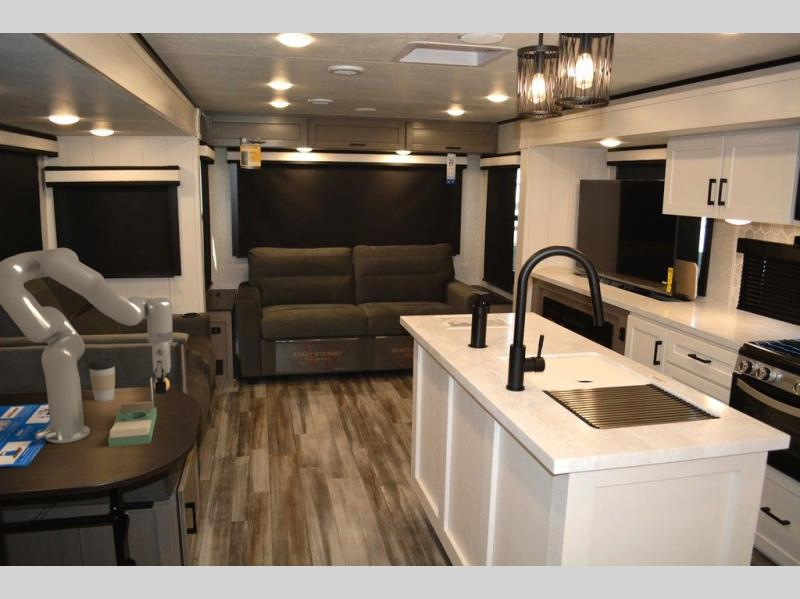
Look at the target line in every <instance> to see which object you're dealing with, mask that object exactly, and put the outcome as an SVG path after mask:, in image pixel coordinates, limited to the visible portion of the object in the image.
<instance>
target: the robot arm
mask: <svg viewBox="0 0 800 599" xmlns="http://www.w3.org/2000/svg"><path fill="white" fill-rule="evenodd" d="M47 277H49V278H51V279H52V280H55V281H56V282H58V283H60V284H61V285H63V286H65V287H66V288H68V289H70V290H72V291H73V292H75V293H76V294H78V295H80V296H82V297H84V299H86V300H87V301H88V302H89V303H90V305H91V304H92V306H93V307H95V308H96V309H97V310H98V311H99V312H101V313H102V314H103V315H105V316H107V317H108V318H110V319H111V320H114V321H115V322H118V323H119V324H120V325H121V324H122V325H123V326H128V327H131V326H137V325H138V324H140V323H141V322H142V320H144V319H147V320H146V321H147V342H148V343H149V344H151V357H152V358H151V360H152V372H153V374H155V380H156V382H155V389H154V391H155V395H158V394H159V395H160V394H161V395H162V394H163V395H164V394H167V390H166V381H165V378H167V379H168V375H167V374H169V373H170V371H171V366H172V362H171V361H172V360H171V342H173V337H174V336H173V304H172V300H171V299H169V298H167V297H154V298H153V297H145V296H137V295H136V296H130V297H128V298H125V297H124V296H122V295H120V294H119V293H117V292H115V291H114V290H113V289H112V288H111V287H110V286H109V285H108V283H107V281H106V279H105V278H104V276H103V275H102V274H101V273H100V272H98V271H96V270H94V269H93V268H91V267H89V266H87V265H86V264H84V263H82V262H81V261H80V260H79V257H78V255H77V253H76V252H75V251H73V250H72V249H71V248H67V247H58V248H57V247H56V248H51V249H50V248H49V249H44V250H35V251H29V252H22V253H17V254H15V255H13V256H10V257H7V258H5V259H3V260H1V261H0V305H1V307H2V308H3V310H5V312H6V313H7V314H8V316H9V317H10V319H12V321H13V322H14V323H15V324H16V326H17V327H18V328H19V329H20V332H22V333H23V335H24V336H25V337H26V339H28V340H29V341H30V342H32V343H47V346H46V347H45V349H44V350H43V352H42V355H41V364H42V370H43V374H44V378H45V385H46V394H47V403H48V404H47V405H48V413H49V414H48V416H49V424H47V425H46V428H45V429H44V430H43V431H40V432H36V433H35V434H34V435H35V437H34V438H35V439H36V440H40V439H45V440H46V439H47V440H46V441H47V442H48V443H51V442H52V443H51V444H68V443H69V444H70V443H73V442H77V441H80V440H82V439H84V438H86V437H87V436H89V435H90V433H91V431H90V430H91V429H90V427H89V426H86V425H85V421H84V412H83V409H84V408H83V398H82V397H83V396H82V386H81V380H80V378H81V377H80V373H79V369H78V361H79V360H80V359H81V358H82V356H83V355H84V353H85V351H86V350H85V348H86V345H85V342H84V340H83V338H82V337H81V336H80V333H78V331H77V330H76V329H75V328H74V327H73V325H72V323H71V322H70V321H69V320H68V319H67V317H66V316H65V315H64V314H63V313H62V312H61V311H60V309H57V308H56V307H53V306H42V305H41V304H40V303H39V302H38V301H37V299H36V298H35V297H34V296H33V294H32V293H31V292H29V291H28V290H27V289H26V288H25V286H24V284H25V283H27V282H29V281H31V280H34V279H39V278H47Z"/></svg>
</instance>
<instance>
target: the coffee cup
mask: <svg viewBox="0 0 800 599" xmlns="http://www.w3.org/2000/svg"><path fill="white" fill-rule="evenodd" d="M115 366H116V363H115V361H113V360H112V359H111V358H109V357H101V358H96V359H93V360H91V362H90V363H89V364H88V369H89V377H90V383H91V389H92V392H93V398H94V401H96V402H107V401H111V400H113V399H114V398H115V387H116V369H115Z"/></svg>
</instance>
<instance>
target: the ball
mask: <svg viewBox="0 0 800 599" xmlns="http://www.w3.org/2000/svg"><path fill="white" fill-rule="evenodd" d="M165 381H166V391H168V390H169V388H170V385H171V384H170V380H169V379H168V377H167V378H165ZM155 382H156V379H154V381H153V383H152V387H153V388H154V390H155Z"/></svg>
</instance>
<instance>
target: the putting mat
mask: <svg viewBox="0 0 800 599" xmlns="http://www.w3.org/2000/svg"><path fill="white" fill-rule="evenodd" d="M149 383H150V399H151V400H150V401H149V400H147V401H137V402H125V403H123V402H122V403H121V404H120V408H121V409H118V413H117V414H116V418H115V420H114V422H113V425H112V427H111V428H110V430H109V435H108V438H107V440H108V447H109V448H115V447H114V446H116V447H124V446H136V445H146V444H151V441H152V438H153V432H154V429H155V424H156V421H155V420H157V416H158V415H157V413H158V412H157V406H154V404H155V403H154V391H153V388H154V386H153V376H151V377H150V378H149Z"/></svg>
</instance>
